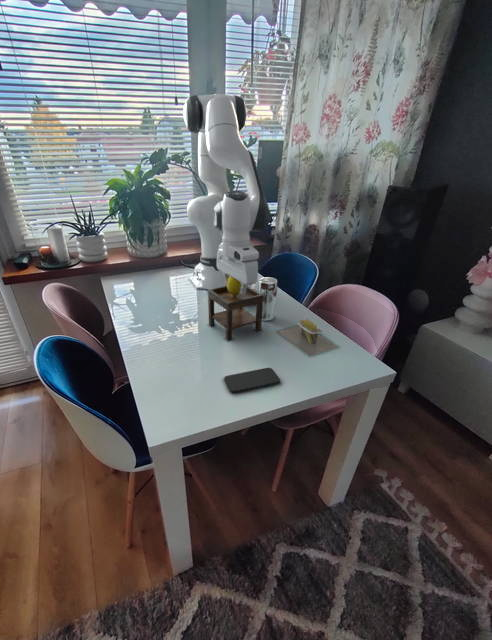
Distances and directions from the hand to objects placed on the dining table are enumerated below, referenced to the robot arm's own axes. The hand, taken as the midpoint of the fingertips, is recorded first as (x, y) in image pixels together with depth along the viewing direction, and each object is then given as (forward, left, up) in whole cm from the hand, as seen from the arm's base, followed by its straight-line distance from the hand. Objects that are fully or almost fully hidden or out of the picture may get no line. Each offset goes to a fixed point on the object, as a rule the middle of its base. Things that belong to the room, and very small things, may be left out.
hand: (235, 289), depth 112 cm
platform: (+20, +17, -15) cm, 30 cm away
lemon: (0, 0, -3) cm, 3 cm away
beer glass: (-1, +15, -15) cm, 21 cm away
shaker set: (-15, +15, -15) cm, 26 cm away
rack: (0, 0, -15) cm, 15 cm away
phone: (+30, -13, -15) cm, 36 cm away
